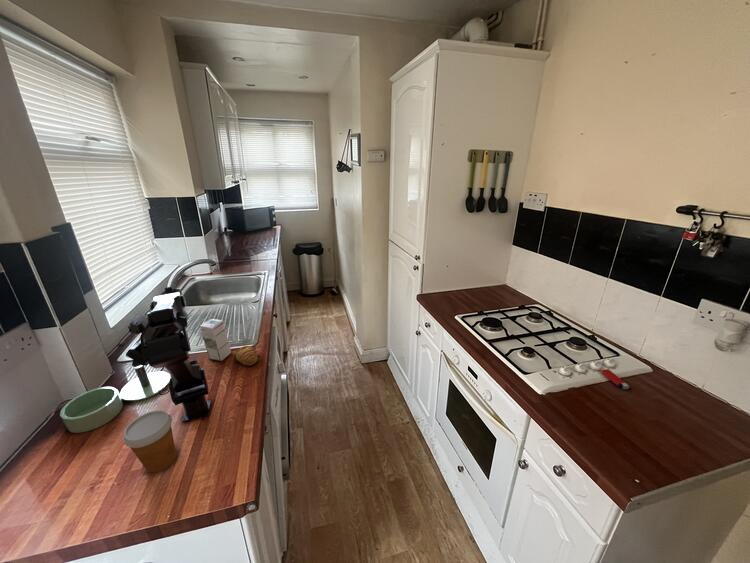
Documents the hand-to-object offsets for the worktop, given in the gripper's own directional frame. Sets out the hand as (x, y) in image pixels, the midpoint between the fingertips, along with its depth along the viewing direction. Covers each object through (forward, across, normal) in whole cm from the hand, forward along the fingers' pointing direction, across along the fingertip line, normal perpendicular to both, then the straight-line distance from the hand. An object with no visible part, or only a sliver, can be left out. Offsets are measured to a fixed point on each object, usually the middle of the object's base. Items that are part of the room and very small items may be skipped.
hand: (143, 356), depth 96 cm
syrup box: (-1, -16, +19) cm, 25 cm away
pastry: (-9, -14, +27) cm, 32 cm away
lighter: (-97, +6, +114) cm, 150 cm away
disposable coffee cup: (-4, +27, +22) cm, 35 cm away
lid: (+10, 0, +6) cm, 12 cm away
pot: (+16, +11, +1) cm, 19 cm away
